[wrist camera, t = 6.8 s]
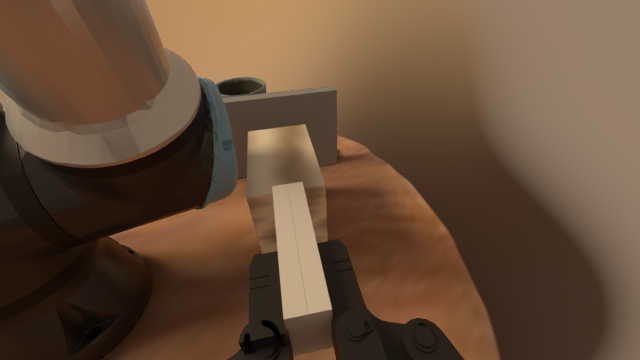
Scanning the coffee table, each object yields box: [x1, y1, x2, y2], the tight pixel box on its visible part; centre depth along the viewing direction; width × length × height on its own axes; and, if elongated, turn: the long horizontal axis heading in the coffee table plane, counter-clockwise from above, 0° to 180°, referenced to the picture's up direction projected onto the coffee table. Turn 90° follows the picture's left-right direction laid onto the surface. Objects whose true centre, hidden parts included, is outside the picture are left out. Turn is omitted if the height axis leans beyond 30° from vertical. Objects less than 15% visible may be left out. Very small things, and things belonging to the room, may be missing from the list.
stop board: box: [222, 86, 337, 178], centre depth 49 cm, size 20×5×14 cm, turn 101°
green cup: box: [216, 77, 266, 98], centre depth 57 cm, size 10×10×12 cm
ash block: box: [246, 124, 328, 254], centre depth 37 cm, size 8×14×12 cm, turn 11°
